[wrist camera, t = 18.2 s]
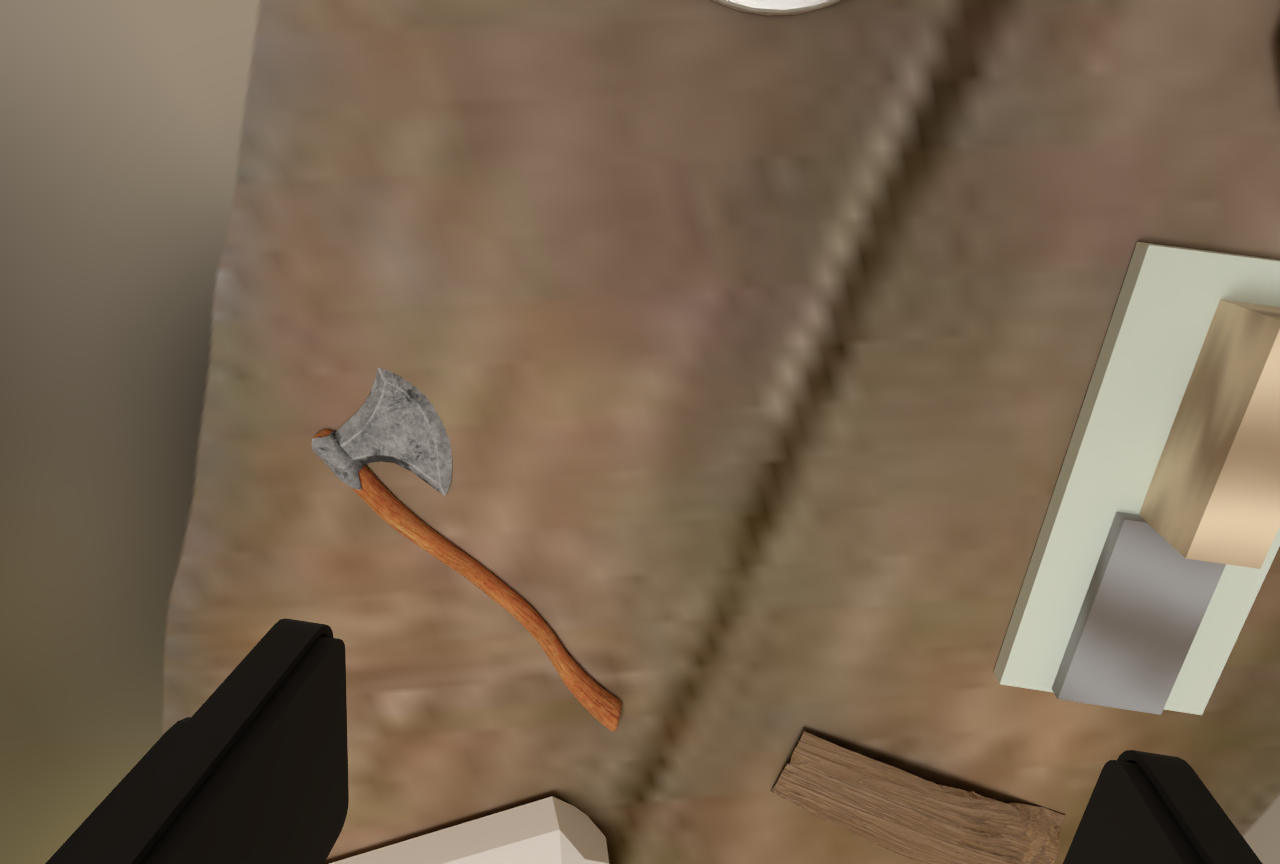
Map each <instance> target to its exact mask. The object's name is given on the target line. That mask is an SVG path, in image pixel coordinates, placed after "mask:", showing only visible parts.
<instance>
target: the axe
mask: <svg viewBox="0 0 1280 864" xmlns="http://www.w3.org/2000/svg"><path fill="white" fill-rule="evenodd" d="M312 450H313V451H314V452H315V453H316V454H317V455H318V456H319V457H320V459H321V460H322V461H323V462H324V463H325V464H326V465H327V466H328V467H329V468H330V469H331V470H332V471H333V472H334V474H335V475H336V476H337V477H338V478H339V479H340V480H341V481H342V482H343V483H345V484H347V485H349V486H350V487H351V488H352V489H353V490H354V491H355V492H356V493H357V494H358V495H359V496H360V497H361V498H362V499H363V500H364V501H365V502H366V503H367V505H368V506H370V507H371V508H372V509H373V510H374V511H375V512H376V513H377V514H378V515H379V516H380V517H381V518H382V519H383V520H384V521H385V522H387V523H388V524H389V525H390V526H391V527H393V528H394V529H395V530H397V531H398V532H399V533H401V534H402V535H404V536H405V537H406V538H408V539H409V540H411V541H412V542H414V543H415V544H416V545H418V546H419V547H421V548H422V549H424V550H425V551H427V552H428V553H430V554H431V555H433V556H434V557H436V558H437V559H439V560H440V561H442V562H443V563H445V564H446V565H448V566H449V567H451V568H452V569H454V570H455V571H457V572H458V573H460V574H461V575H463V576H464V577H465V578H467V579H468V580H469V581H471V582H472V583H473V584H474V585H476V586H477V587H478V588H479V589H481V590H482V591H483V592H484V593H486V594H487V595H488V596H489V597H491V598H492V599H493V600H494V601H496V602H497V603H498V604H499V605H501V606H502V607H503V608H504V609H506V610H507V611H508V612H509V613H510V614H512V615H513V616H514V617H515V618H516V619H517V620H518V621H519V622H520V623H521V624H522V625H523V626H524V627H525V628H526V629H527V630H528V631H529V632H530V633H531V634H532V636H533V637H534V638H535V639H536V640H537V641H538V642H539V644H540V645H541V646H542V648H543V649H544V651H545V653H546V654H547V656H548V657H549V659H550V660H551V662H552V663H553V665H554V667H555V669H556V670H557V672H558V673H559V675H560V677H561V678H562V680H563V682H564V683H565V685H566V686H567V687H568V688H569V690H570V691H571V692H572V693H573V695H574V696H575V697H576V698H577V699H578V700H579V701H580V703H581V704H582V705H583V706H584V707H585V708H586V709H587V710H588V711H589V712H590V713H591V714H592V715H593V716H594V717H595V718H596V719H597V720H598V721H599V722H600V723H601V724H603V725H604V726H605V727H607V728H608V729H609V730H611V731H616V730H617V727H618V724H619V719H620V714H621V708H622V704H621V702H620V700H619V699H617V698H616V697H615V696H613V695H612V694H610V693H609V692H607V691H606V690H604V689H603V688H602V687H601V686H599V685H598V684H597V683H596V682H595V681H594V680H593V679H591V678H590V677H589V676H588V675H587V674H586V673H585V672H584V671H583V670H582V669H581V668H580V667H579V665H578V664H577V663H576V662H575V661H574V660H573V659H572V658H571V657H570V656H569V654H568V653H567V652H566V651H565V649H564V648H563V646H562V645H561V643H560V641H559V640H558V638H557V637H556V635H555V634H554V632H553V631H552V630H551V628H550V627H549V626H548V625H547V624H546V622H545V621H544V620H543V619H542V618H541V617H540V615H539V614H538V613H537V612H536V611H535V610H534V609H533V608H532V607H531V606H530V605H529V604H528V603H527V602H526V601H525V600H524V599H523V598H522V597H521V596H520V595H518V594H517V593H516V592H515V591H514V590H512V589H511V588H510V587H509V586H507V585H506V584H505V583H504V582H502V581H501V580H500V579H499V578H497V577H496V576H495V575H494V574H492V573H491V572H490V571H488V570H487V569H486V568H485V567H483V566H482V565H481V564H480V563H478V562H477V561H476V560H474V559H473V558H471V557H470V556H469V555H467V554H466V553H464V552H463V551H462V550H460V549H459V548H457V547H456V546H455V545H453V544H452V543H450V542H449V541H448V540H446V539H445V538H444V537H442V536H441V535H440V534H438V533H437V532H435V531H434V530H433V529H432V528H430V527H429V526H428V525H427V524H425V523H424V522H423V521H422V520H420V519H419V518H418V517H417V516H416V515H414V514H413V513H412V512H411V511H410V510H409V509H408V508H406V507H405V506H404V505H403V504H402V503H401V502H400V501H399V500H398V499H397V498H396V497H394V496H393V495H392V494H391V493H390V492H389V491H388V490H387V489H386V487H385V486H384V485H383V484H382V483H381V482H380V481H379V480H378V479H377V477H376V476H375V475H374V474H373V473H372V472H371V471H370V469H369V468H368V467H367V466H366V463H370V462H379V461H383V462H391V463H396V464H398V465H400V466H402V467H404V468H406V469H408V470H410V471H411V472H413V473H414V474H416V475H417V476H418V477H420V478H421V479H422V480H424V481H425V482H426V483H428V484H429V485H430V486H432V487H433V488H435V489H436V490H437V491H439V492H440V493H441V494H443V495H444V496H446V493H447V491H448V489H449V486H450V484H451V477H452V454H451V445H450V440H449V438H448V435H447V433H446V431H445V428H444V426H443V423H442V421H441V419H440V418H439V416H438V414H437V412H436V410H435V408H434V407H433V405H432V404H431V403H430V402H429V400H428V399H427V398H426V396H425V395H423V394H422V393H421V392H420V391H419V390H418V389H417V388H416V387H414V386H413V385H412V384H411V383H409V382H408V381H406V380H405V379H403V378H401V377H400V376H398V375H396V374H394V373H392V372H390V371H387V370H384V369H381V368H378V370H377V375H376V379H375V382H374V384H373V386H372V389H371V392H370V394H369V396H368V398H367V400H366V401H365V403H364V404H363V405H362V407H361V408H360V409H359V411H358V412H357V413H356V414H355V415H353V416H352V417H351V418H350V419H349V420H348V421H347V422H346V423H345V424H344V425H343V426H342V427H341V428H340V429H339V430H338V431H337V432H336V431H331V430H329V429H324V430H322V431H320V432H319V433H318V434H316V435H315V437H314V438H313V439H312Z"/></svg>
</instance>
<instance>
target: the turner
mask: <svg viewBox="0 0 1280 864" xmlns="http://www.w3.org/2000/svg"><path fill="white" fill-rule="evenodd" d="M1279 527H1280V307H1276V306H1268V305H1260V304H1252V303H1244V302H1236V301H1228V300H1220V301H1219V303H1218V306H1217V309H1216V311H1215V314H1214V316H1213V319H1212V322H1211V324H1210V327H1209V330H1208V332H1207V335H1206V338H1205V340H1204V343H1203V346H1202V348H1201V351H1200V354H1199V356H1198V359H1197V361H1196V364H1195V367H1194V369H1193V372H1192V375H1191V377H1190V380H1189V383H1188V385H1187V388H1186V391H1185V393H1184V396H1183V399H1182V401H1181V404H1180V406H1179V409H1178V412H1177V414H1176V417H1175V420H1174V422H1173V425H1172V428H1171V430H1170V433H1169V436H1168V438H1167V441H1166V444H1165V446H1164V449H1163V451H1162V454H1161V457H1160V459H1159V462H1158V465H1157V467H1156V470H1155V473H1154V475H1153V478H1152V481H1151V483H1150V486H1149V489H1148V491H1147V494H1146V496H1145V499H1144V502H1143V504H1142V507H1141V510H1140V512H1139V515H1137V514H1130V513H1122V512H1116V514H1115V517H1114V519H1113V522H1112V525H1111V528H1110V530H1109V533H1108V536H1107V539H1106V541H1105V544H1104V547H1103V549H1102V552H1101V555H1100V558H1099V560H1098V563H1097V566H1096V569H1095V571H1094V574H1093V577H1092V580H1091V582H1090V585H1089V588H1088V590H1087V593H1086V596H1085V599H1084V601H1083V604H1082V607H1081V610H1080V612H1079V615H1078V618H1077V621H1076V623H1075V626H1074V629H1073V631H1072V634H1071V637H1070V640H1069V642H1068V645H1067V648H1066V651H1065V653H1064V656H1063V659H1062V662H1061V664H1060V667H1059V670H1058V672H1057V675H1056V678H1055V681H1054V683H1053V686H1052V690H1053V692H1054V693H1055V695H1056V697H1057V699H1061V700H1067V701H1074V702H1081V703H1087V704H1094V705H1100V706H1107V707H1114V708H1120V709H1127V710H1133V711H1140V712H1147V713H1153V714H1160V715H1161V714H1162V711H1163V709H1164V707H1165V704H1166V702H1167V700H1168V698H1169V695H1170V693H1171V691H1172V688H1173V686H1174V684H1175V681H1176V679H1177V677H1178V674H1179V672H1180V670H1181V667H1182V665H1183V663H1184V661H1185V658H1186V656H1187V654H1188V651H1189V649H1190V647H1191V644H1192V642H1193V640H1194V637H1195V635H1196V633H1197V631H1198V628H1199V626H1200V624H1201V621H1202V619H1203V617H1204V614H1205V612H1206V610H1207V607H1208V605H1209V603H1210V601H1211V598H1212V596H1213V594H1214V591H1215V589H1216V587H1217V584H1218V582H1219V580H1220V577H1221V575H1222V573H1223V570H1224V568H1225V566H1226V564H1229V565H1236V566H1243V567H1250V568H1257V569H1261V566H1262V564H1263V562H1264V560H1265V558H1266V555H1267V553H1268V551H1269V549H1270V547H1271V544H1272V542H1273V540H1274V538H1275V535H1276V533H1277V531H1278V529H1279Z"/></svg>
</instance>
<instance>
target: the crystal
mask: <svg viewBox="0 0 1280 864" xmlns="http://www.w3.org/2000/svg"><path fill="white" fill-rule="evenodd" d="M560 843H561V844H560ZM561 859H562V860H561ZM330 864H609V858H608V850H607V843H606V837H605V836H604V834H603V833H602V832H601V831H600V830H599V829H598V827H597V826H596V825H595V824H594V823H593V822H592V820H591V819H590V818H589V817H588V816H587V815H586V814H584V813H583V812H582V811H580V810H579V809H578V808H576V807H575V806H573V805H571V804H568V803H566V802H564V801H562V800H559V799H557V798H555V797H552V796H551V797H548V798H545V799H541V800H538V801H535V802H532V803H528V804H525V805H522V806H518V807H515V808H512V809H508V810H505V811H502V812H498V813H495V814H492V815H488V816H485V817H482V818H479V819H475V820H472V821H469V822H465V823H462V824H459V825H455V826H452V827H449V828H445V829H442V830H439V831H436V832H432V833H429V834H426V835H422V836H419V837H416V838H412V839H409V840H406V841H402V842H399V843H396V844H392V845H389V846H386V847H383V848H379V849H376V850H373V851H369V852H366V853H363V854H359V855H356V856H353V857H349V858H346V859H343V860H339V861H336V862H333V863H330Z"/></svg>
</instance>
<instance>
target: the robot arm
mask: <svg viewBox="0 0 1280 864" xmlns="http://www.w3.org/2000/svg"><path fill="white" fill-rule="evenodd" d="M712 1H714V2H717V3H719V4H722V5H724V6H727V7H729V8H732V9H734V10H737V11H742V12H748V13H754V14H760V15H765V16H773V15H797V14H802V13H806V12H809V11H813V10H817V9H821V8H825V7H829V6H831V5H833V4H835V3H837V2H840V1H842V0H712ZM347 810H348V755H347V710H346V665H345V644H344V642H343V640H341V639H336V638H333V632H332V630H331V628H330V626H328V625H324V624H318V623H311V622H305V621H298V620H292V619H281V620H279V621H278V622H277V623H276V624H275V625H274V626H273V627H272V628H271V629H270V630H269V631H268V633H267V634H266V635H265V636H264V637H263V638H262V639H261V640H260V641H259V643H258V644H257V645H256V646H255V647H254V648H253V649H252V650H251V651H250V653H249V654H248V655H247V656H246V657H245V658H244V659H243V660H242V662H241V663H240V664H239V665H238V666H237V667H236V668H235V669H234V670H233V672H232V673H231V674H230V675H229V676H228V677H227V678H226V679H225V681H224V682H223V683H222V684H221V685H220V686H219V687H218V688H217V689H216V691H215V692H214V693H213V694H212V695H211V696H210V697H209V698H208V699H207V701H206V702H205V703H204V704H203V705H202V706H201V707H200V708H199V710H198V711H197V712H196V713H195V714H194V715H193V716H192V717H191V718H190V717H187V718H185V719H183V720H180V721H178V722H177V723H176V724H174V725H173V726H172V727H171V728H170V729H169V730H168V731H167V732H166V733H165V734H164V735H163V736H162V737H161V738H160V739H159V740H158V741H157V742H156V744H155V745H154V746H153V747H152V748H151V749H150V750H149V751H148V752H147V753H146V755H145V756H144V757H143V758H142V759H141V760H140V761H139V762H138V763H137V764H136V766H135V767H134V768H133V769H132V770H131V771H130V772H129V773H128V774H127V775H126V777H124V778H123V780H122V781H121V782H120V783H119V784H118V785H117V786H116V787H115V788H114V789H113V790H112V792H111V793H110V794H109V795H108V796H107V797H106V798H105V799H104V800H103V802H101V804H100V805H99V806H98V807H97V808H96V809H95V810H94V811H93V812H92V813H91V815H90V816H89V817H88V818H87V819H86V820H85V821H84V822H83V823H82V824H81V825H80V827H79V828H78V829H77V830H76V831H75V832H74V833H73V834H72V835H71V836H70V838H68V840H67V841H66V842H65V843H64V844H63V845H62V846H61V847H60V848H59V849H58V851H57V852H56V853H55V854H54V855H53V856H52V857H51V858H50V859H49V860H48V862H47V863H46V864H324V862H325V861H326V859H327V857H328V855H329V853H330V851H331V849H332V848H333V846H334V844H335V842H336V840H337V838H338V836H339V834H340V832H341V830H342V828H343V825H344V822H345V818H346V815H347ZM1063 864H1262V863H1261V861H1260V860H1259V859H1258V857H1257V856H1256V854H1255V853H1254V852H1253V850H1252V849H1251V848H1250V846H1249V845H1248V844H1247V842H1246V841H1245V839H1244V838H1243V837H1242V835H1241V834H1240V833H1239V831H1238V830H1237V829H1236V827H1235V826H1234V824H1233V823H1232V822H1231V820H1230V819H1229V818H1228V816H1227V815H1226V814H1225V812H1224V811H1223V810H1222V808H1221V807H1220V805H1219V804H1218V803H1217V801H1216V800H1215V799H1214V797H1213V796H1212V795H1211V793H1210V792H1209V790H1208V789H1207V788H1206V786H1205V785H1204V784H1203V782H1202V781H1201V780H1200V778H1199V777H1198V775H1197V774H1196V773H1195V771H1194V770H1193V769H1192V767H1191V766H1190V765H1189V764H1188V763H1187V762H1186V761H1185V760H1182V759H1180V758H1178V757H1173V756H1166V755H1160V754H1153V753H1147V752H1140V751H1134V750H1129V751H1125V752H1123V753H1122V754H1121V755H1120V756H1119V758H1118V759H1117V761H1116V760H1110V761H1108V762H1107V763H1106V764H1105V765H1104V767H1103V769H1102V771H1101V774H1100V776H1099V778H1098V781H1097V783H1096V786H1095V788H1094V790H1093V793H1092V795H1091V798H1090V800H1089V803H1088V805H1087V807H1086V810H1085V812H1084V815H1083V817H1082V819H1081V822H1080V824H1079V827H1078V829H1077V831H1076V834H1075V836H1074V839H1073V841H1072V843H1071V846H1070V848H1069V851H1068V853H1067V855H1066V858H1065V860H1064V863H1063Z"/></svg>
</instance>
